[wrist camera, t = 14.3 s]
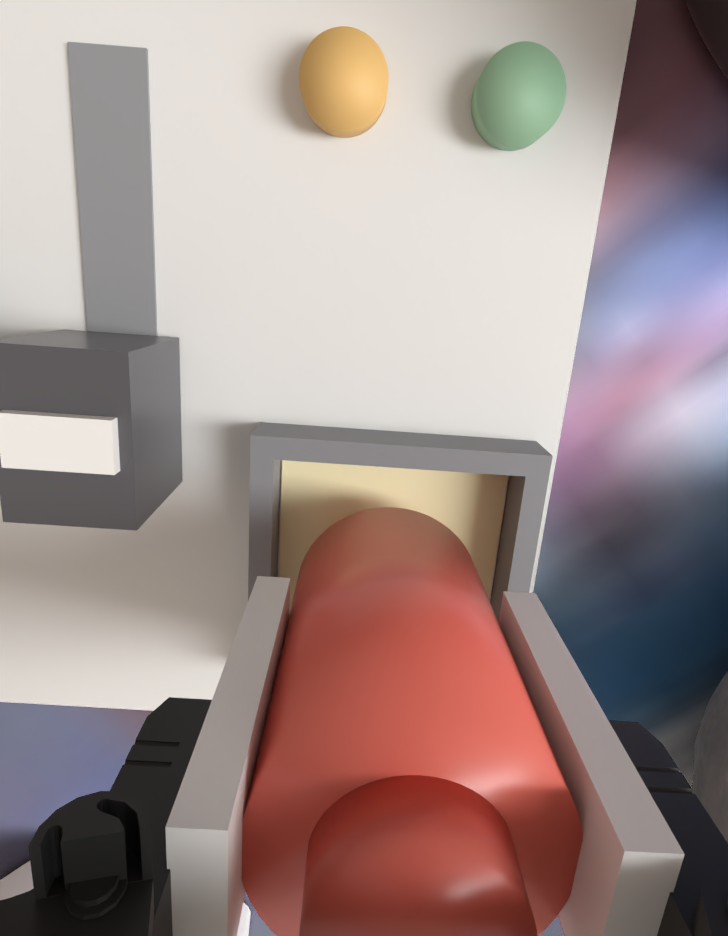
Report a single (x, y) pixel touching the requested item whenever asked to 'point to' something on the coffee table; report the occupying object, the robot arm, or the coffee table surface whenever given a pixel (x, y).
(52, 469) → the breaker
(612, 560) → the coffee table surface
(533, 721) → the cap
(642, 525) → the coffee table surface
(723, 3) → the leaning round-cornered charcoal block
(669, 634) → the coffee table surface
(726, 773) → the bowl
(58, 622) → the panel
